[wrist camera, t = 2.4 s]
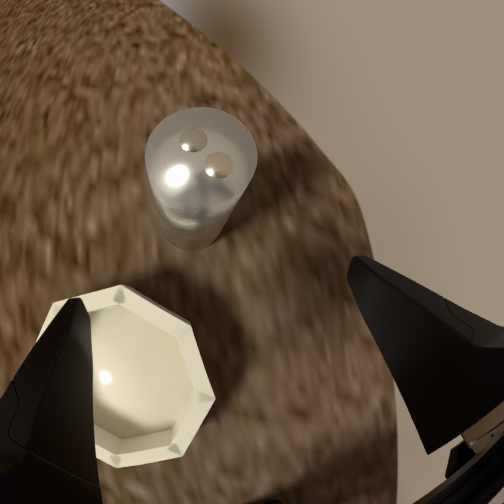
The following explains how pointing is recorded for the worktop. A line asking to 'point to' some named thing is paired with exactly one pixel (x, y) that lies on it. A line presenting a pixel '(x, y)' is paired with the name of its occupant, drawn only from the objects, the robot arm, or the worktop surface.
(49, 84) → the worktop surface
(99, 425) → the bowl
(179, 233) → the canister
